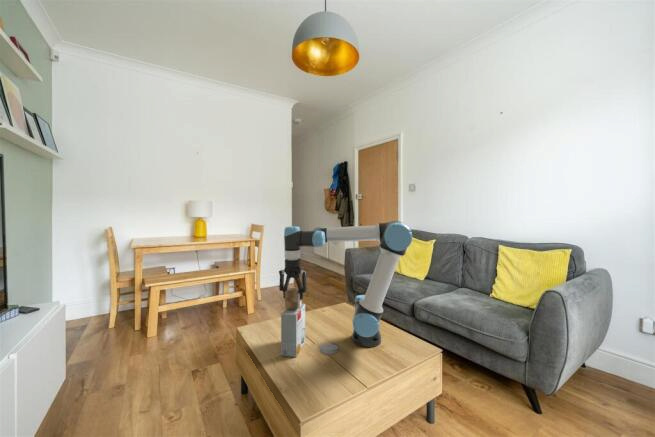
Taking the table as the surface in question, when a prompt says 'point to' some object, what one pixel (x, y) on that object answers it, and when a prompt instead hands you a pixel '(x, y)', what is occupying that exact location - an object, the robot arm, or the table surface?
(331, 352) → the slate coaster
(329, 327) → the table surface
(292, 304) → the walnut block
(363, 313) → the robot arm
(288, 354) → the hard drive box
